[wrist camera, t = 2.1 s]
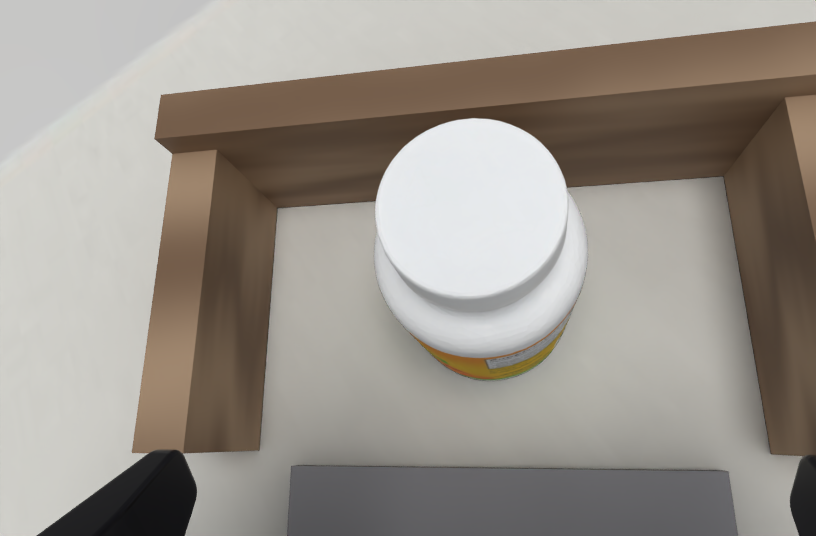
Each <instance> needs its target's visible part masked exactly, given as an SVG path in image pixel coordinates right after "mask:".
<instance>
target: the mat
mask: <svg viewBox="0 0 816 536" xmlns="http://www.w3.org/2000/svg"><path fill="white" fill-rule="evenodd" d="M287 536H738V533H737V526H736V520H735V513H734V506H733V500H732V493H731V486H730V479H729V473H728V471H720V470H639V469H559V468H478V467H397V466H317V465H295V466H291V479H290V495H289V512H288V529H287Z"/></svg>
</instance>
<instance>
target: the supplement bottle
mask: <svg viewBox="0 0 816 536" xmlns="http://www.w3.org/2000/svg"><path fill="white" fill-rule="evenodd" d="M375 221H376V229H377V233H376V237H375V245H374V265H375V272H376V277H377V281H378V285H379V288H380V290H381V293H382V295H383V297H384V299H385V302H386V304H387V305H388V307H389V308H390V310H391V312H392V313H393V314H394V316H395V317H396V318H397V320H398V321H399V322H400V323H401V324H402V325H403V327H404V328H405V329H406V330H407V331H408V332H409V333H410V334H411V335H412V336H413V337H414V338H415V339H416V340H417V341H418V342H419V343H420V344H421V345H422V346H423V347H424V348H425V349H426V350H427V351H428V352H429V353H430V354H432V355H433V356H434V357H435V358H436V359H437V360H438V361H439V362H440V363H442V364H443V365H444V366H446V367H447V368H449V369H451V370H452V371H454V372H456V373H458V374H460V375H463V376H466V377H468V378H472V379H477V380H486V381H494V380H503V379H508V378H512V377H515V376H518V375H521V374H523V373H525V372H528V371H529V370H531V369H533V368H534V367H536V366H537V365H538V364H540V363H541V362H542V361H543V360H544V359H545V358H546V357H547V356H548V355H549V354H550V353H551V351H552V350H553V349H554V347H555V346H556V344H557V343H558V341H559V339H560V338H561V336H562V334H563V331H564V329H565V327H566V324H567V322H568V320H569V318H570V315H571V312H572V310H573V308H574V305H575V303H576V301H577V299H578V296H579V294H580V292H581V289H582V286H583V282H584V279H585V275H586V269H587V261H588V240H587V233H586V229H585V225H584V222H583V219H582V216H581V214H580V211H579V209H578V207H577V205H576V203H575V201H574V200H573V198H572V196H571V195H570V193H569V192H568V191H567V186H566V183H565V179H564V177H563V174H562V172H561V170H560V168H559V166H558V164H557V162H556V160H555V159H554V157H553V156H552V155H551V153H550V152H549V151H548V150H547V149H546V147H545V146H544V145H543V144H542V143H541V142H540V141H538V140H537V139H536V138H535V137H533V136H532V135H530V134H529V133H527V132H525V131H523V130H522V129H520V128H518V127H515V126H513V125H511V124H508V123H504V122H501V121H497V120H491V119H477V118H471V119H462V120H455V121H451V122H447V123H444V124H441V125H438V126H436V127H434V128H431V129H429V130H427V131H425V132H423V133H422V134H420V135H418V136H417V137H416V138H414V139H413V140H412V141H410V142H409V143H408V144H407V145H405V146H404V147H403V148H402V149H401V151H400V152H399V153H398V154H397V155H396V156H395V157H394V159H393V160H392V161H391V163H390V165H389V166H388V168H387V169H386V171H385V173H384V176H383V178H382V180H381V183H380V186H379V189H378V192H377V197H376V205H375Z"/></svg>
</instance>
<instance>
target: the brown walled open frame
mask: <svg viewBox="0 0 816 536" xmlns="http://www.w3.org/2000/svg"><path fill="white" fill-rule="evenodd" d="M471 118H477V119H491V120H497V121H501V122H504V123H508V124H511V125H513V126H515V127H518V128H520V129H522V130H523V131H525V132H527V133H529V134H530V135H532V136H533V137H535V138H536V139H537V140H538V141H540V142H541V143H542V144H543V145H544V146H545V147H546V149H547V150H548V151H549V152H550V153H551V155H552V156H553V157H554V159H555V160H556V162H557V164H558V166H559V168H560V170H561V172H562V174H563V177H564V179H565V183H566V186H567V187H577V186H591V185H605V184H619V183H633V182H647V181H661V180H675V179H689V178H703V177H717V176H724V180H725V186H726V192H727V198H728V204H729V210H730V216H731V222H732V227H733V233H734V239H735V245H736V251H737V257H738V263H739V268H740V274H741V280H742V286H743V292H744V298H745V304H746V310H747V315H748V321H749V327H750V333H751V339H752V345H753V351H754V357H755V362H756V368H757V374H758V380H759V386H760V392H761V398H762V404H763V409H764V415H765V421H766V427H767V433H768V439H769V445H770V451H771V454H776V455H794V456H805V455H816V22H807V23H798V24H789V25H780V26H771V27H763V28H754V29H745V30H736V31H727V32H718V33H709V34H700V35H691V36H682V37H673V38H665V39H656V40H647V41H638V42H629V43H620V44H611V45H602V46H593V47H584V48H575V49H566V50H558V51H549V52H540V53H531V54H522V55H513V56H504V57H495V58H486V59H477V60H468V61H460V62H451V63H442V64H433V65H424V66H415V67H406V68H397V69H388V70H379V71H370V72H362V73H353V74H344V75H335V76H326V77H317V78H308V79H299V80H290V81H281V82H272V83H264V84H255V85H246V86H237V87H228V88H219V89H210V90H201V91H192V92H183V93H174V94H166V95H161V98H160V105H159V112H158V119H157V126H156V132H155V140H156V141H158V142H159V143H160V144H161V145H162V146H164V147H165V148H166V149H167V150H169V151H170V152H171V153H172V161H171V169H170V176H169V183H168V191H167V198H166V205H165V213H164V220H163V227H162V235H161V242H160V250H159V257H158V264H157V272H156V279H155V286H154V294H153V301H152V308H151V316H150V323H149V330H148V338H147V345H146V353H145V360H144V367H143V375H142V382H141V389H140V397H139V404H138V411H137V419H136V426H135V433H134V441H133V448H132V453H150V452H152V451H154V450H158V449H176V450H179V451H180V452H181V453H204V452H229V451H254V450H259V445H260V431H261V418H262V405H263V391H264V378H265V365H266V351H267V338H268V325H269V311H270V298H271V285H272V271H273V258H274V245H275V231H276V218H277V208H282V207H296V206H311V205H325V204H339V203H353V202H367V201H376V197H377V192H378V189H379V186H380V183H381V180H382V178H383V176H384V173H385V171H386V169H387V168H388V166H389V165H390V163H391V161H392V160H393V159H394V157H395V156H396V155H397V154H398V153H399V152H400V151H401V149H402V148H403V147H404V146H405V145H407V144H408V143H409V142H410V141H412V140H413V139H414V138H416V137H417V136H418V135H420V134H422V133H423V132H425V131H427V130H429V129H431V128H434V127H436V126H438V125H441V124H444V123H447V122H451V121H455V120H462V119H471Z"/></svg>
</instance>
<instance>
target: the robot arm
mask: <svg viewBox="0 0 816 536" xmlns="http://www.w3.org/2000/svg"><path fill="white" fill-rule="evenodd" d="M196 496H197V487H196V483H195V480H194V478H193V476H192V473H191V471H190V469H189V466H188V464H187V462H186V459H185V457H184V455H183V453H181V452H180V451H179V450H176V449H158V450H154V451H152V452H150V453H149V454H147V455H146V456H145V457H143V458H142V459H140V460H139V461H138V462H136V463H135V464H134V465H132V466H131V467H130V468H128V469H127V470H125V471H124V472H123V473H121V474H120V475H119V476H117V477H116V478H115V479H113V480H112V481H110V482H109V483H108V484H106V485H105V486H104V487H102V488H101V489H100V490H98V491H97V492H95V493H94V494H93V495H91V496H90V497H89V498H87V499H86V500H85V501H83V502H82V503H80V504H79V505H78V506H76V507H75V508H74V509H72V510H71V511H70V512H68V513H67V514H66V515H64V516H63V517H61V518H60V519H59V520H57V521H56V522H55V523H53V524H52V525H51V526H49V527H48V528H46V529H45V530H44V531H42V532H41V533H40V534H38V535H37V536H185V533H186V530H187V526H188V523H189V520H190V517H191V514H192V511H193V507H194V504H195V501H196ZM790 507H791V512H792V516H793V519H794V522H795V524H796V527H797V530H798V533H799V536H816V455H805V456H804V457H803V458H802V459H801V460H800V462H799V466H798V469H797V473H796V477H795V480H794V484H793V488H792V491H791V496H790Z"/></svg>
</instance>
